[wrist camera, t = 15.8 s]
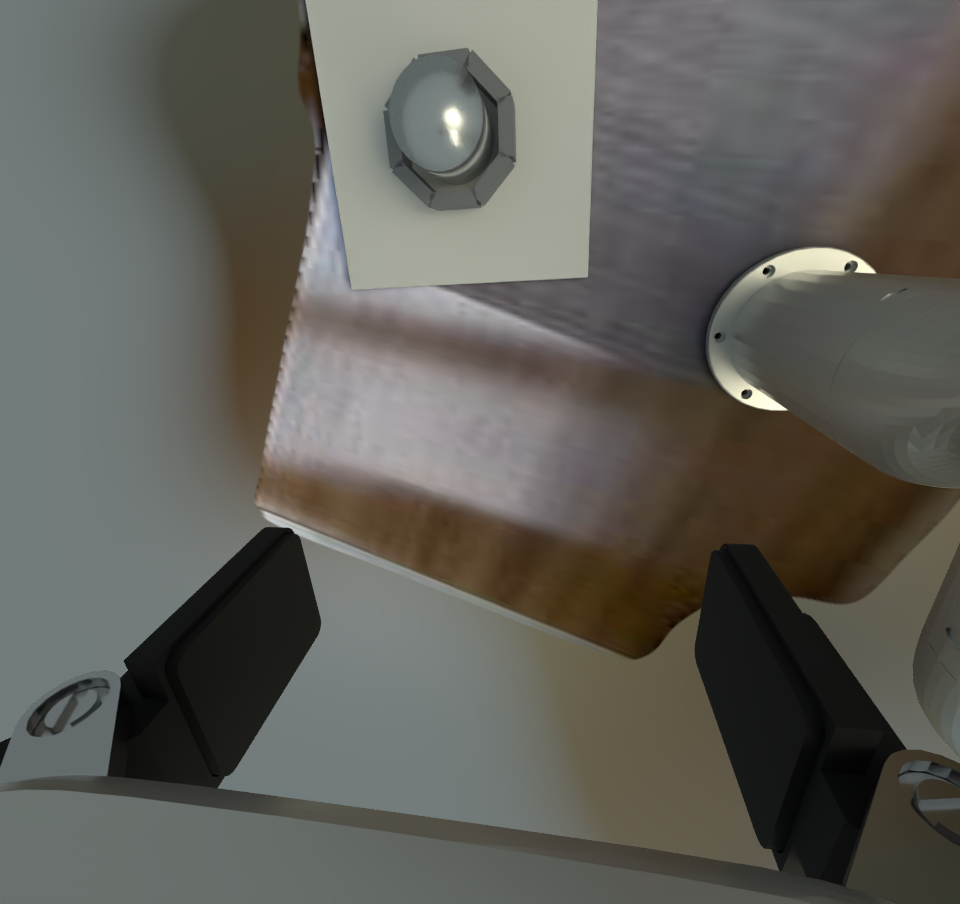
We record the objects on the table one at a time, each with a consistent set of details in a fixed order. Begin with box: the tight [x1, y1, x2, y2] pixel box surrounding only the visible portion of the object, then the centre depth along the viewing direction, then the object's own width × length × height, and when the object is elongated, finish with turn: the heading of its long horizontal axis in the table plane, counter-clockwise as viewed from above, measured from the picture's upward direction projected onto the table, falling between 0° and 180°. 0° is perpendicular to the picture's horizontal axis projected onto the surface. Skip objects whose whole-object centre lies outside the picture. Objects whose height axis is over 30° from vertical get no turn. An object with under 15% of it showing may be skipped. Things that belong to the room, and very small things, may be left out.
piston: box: [389, 55, 494, 184], centre depth 30 cm, size 6×6×8 cm
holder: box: [305, 0, 598, 290], centre depth 33 cm, size 20×20×4 cm
